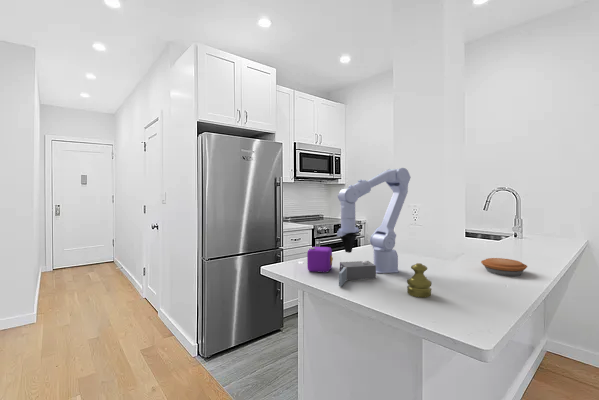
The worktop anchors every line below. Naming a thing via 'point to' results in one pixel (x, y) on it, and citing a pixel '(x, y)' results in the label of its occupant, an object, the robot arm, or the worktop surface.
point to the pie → (504, 266)
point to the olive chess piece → (419, 282)
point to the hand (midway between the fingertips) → (348, 252)
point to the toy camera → (319, 259)
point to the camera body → (359, 270)
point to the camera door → (342, 276)
